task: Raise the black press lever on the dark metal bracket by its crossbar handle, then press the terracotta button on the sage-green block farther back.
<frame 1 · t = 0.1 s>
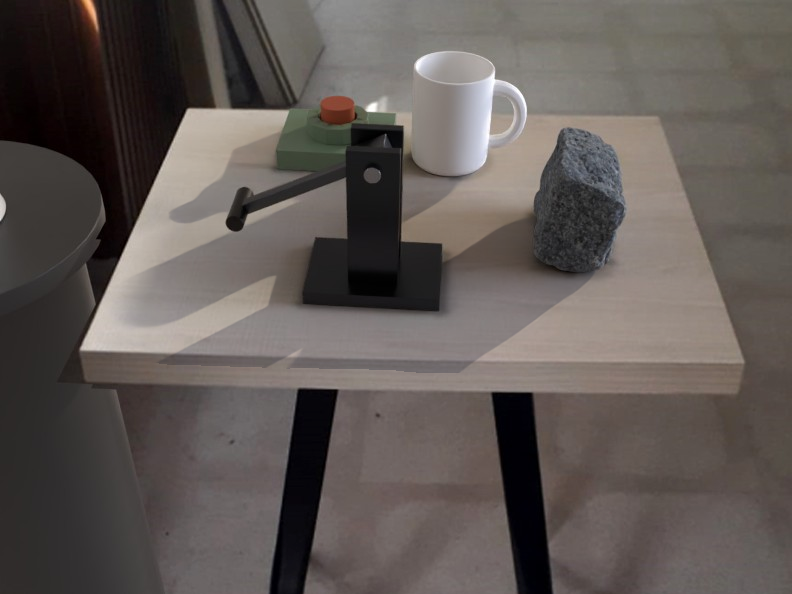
stone: (567, 242, 92), on the table
button block: (338, 149, 105), on the table
mug: (465, 161, 104), on the table
stop button: (337, 110, 102), point 5 cm above the table, slide at 0.2 cm
lever bracket: (374, 278, 87), on the table
press lever: (309, 182, 81), point 9 cm above the table, hinge at -25.0°
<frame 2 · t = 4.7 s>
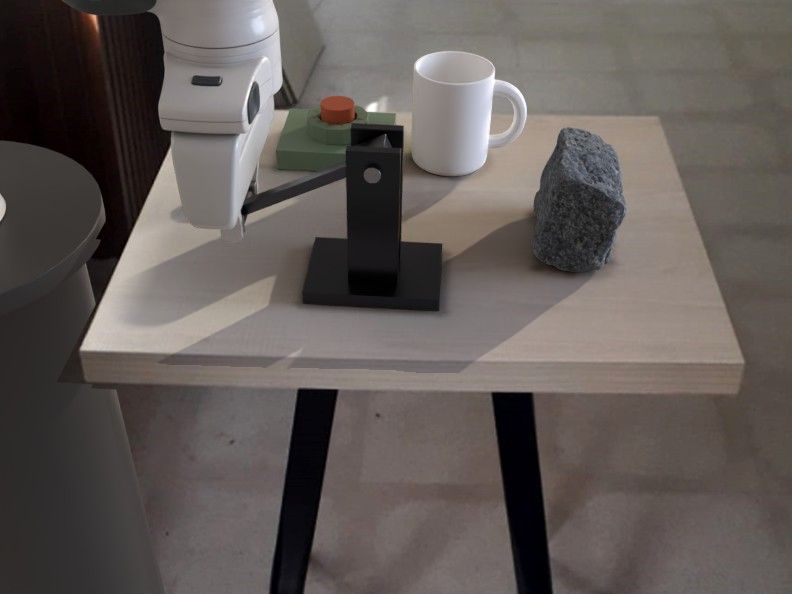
hand: (240, 218, 84), 6 cm above the table, tool pointing down, fingers closed on press lever, 5 cm apart
press lever: (309, 182, 81), point 9 cm above the table, hinge at -25.1°, touching gripper
everything else where it was.
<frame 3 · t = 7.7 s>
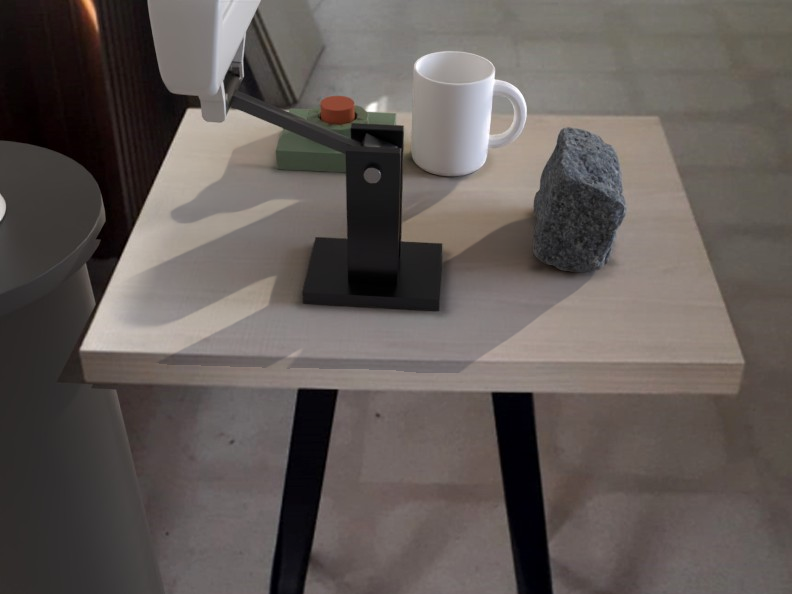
hand: (224, 100, 76), 16 cm above the table, tool pointing down, fingers closed on press lever, 5 cm apart
press lever: (304, 128, 78), point 14 cm above the table, hinge at 22.2°, touching gripper
everything else where it was.
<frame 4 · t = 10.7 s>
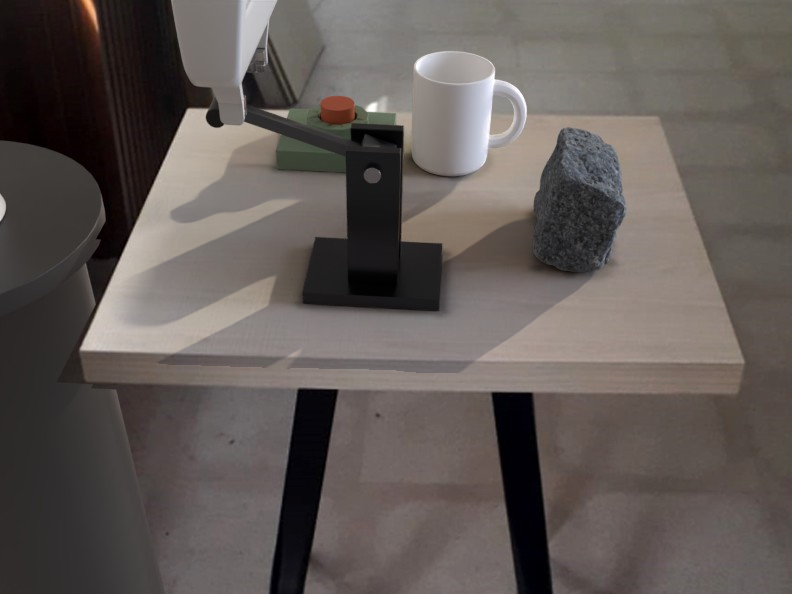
hand: (245, 94, 76), 17 cm above the table, tool pointing down, fingers open, 8 cm apart
press lever: (303, 133, 78), point 14 cm above the table, hinge at 17.9°
everything else where it was.
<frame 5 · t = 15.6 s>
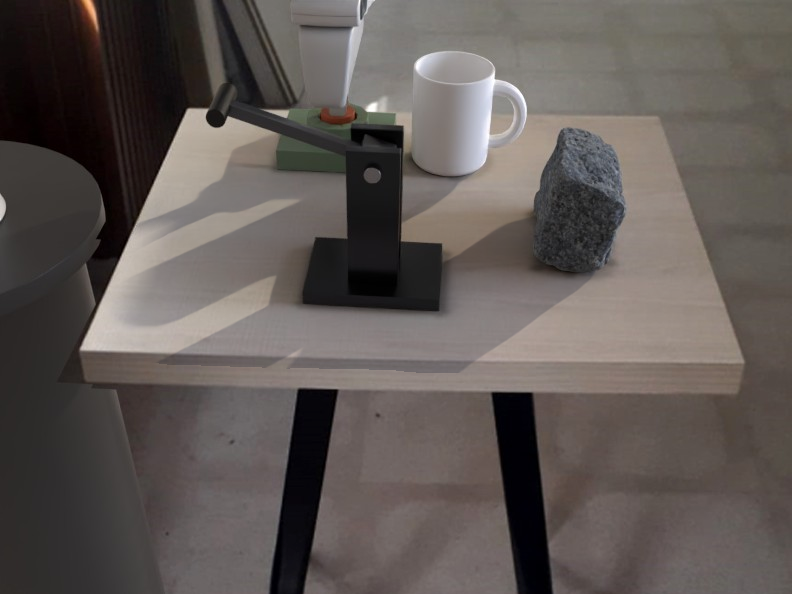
hand: (339, 110, 102), 5 cm above the table, tool pointing down, fingers closed, pressing on stop button
stop button: (337, 118, 102), point 4 cm above the table, slide at -0.7 cm, touching gripper
everything else where it was.
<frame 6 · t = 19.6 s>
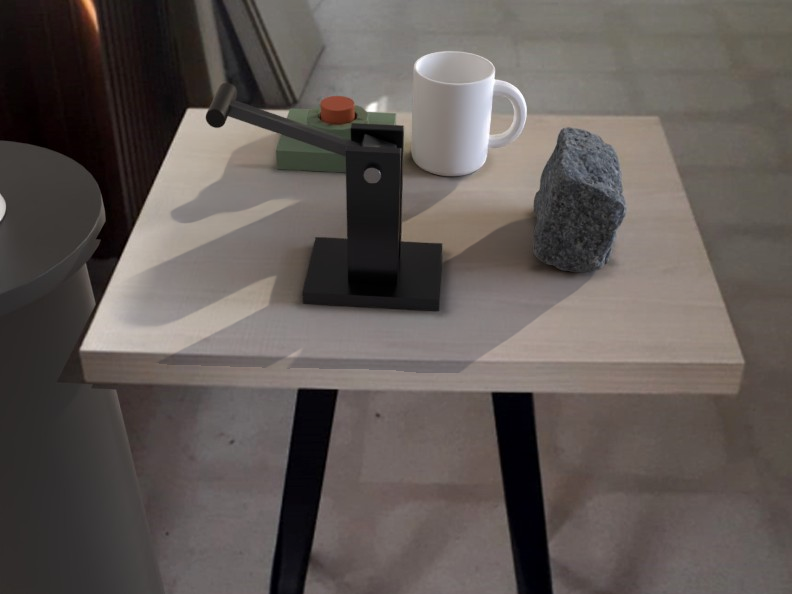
stop button: (337, 110, 102), point 5 cm above the table, slide at 0.1 cm
everything else where it was.
at the end: press lever at +18° (first picture: -25°); stop button pushed in 1.0 cm at the most during the clip, back to where it started at the end; stop button slide at 0.1 cm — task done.
